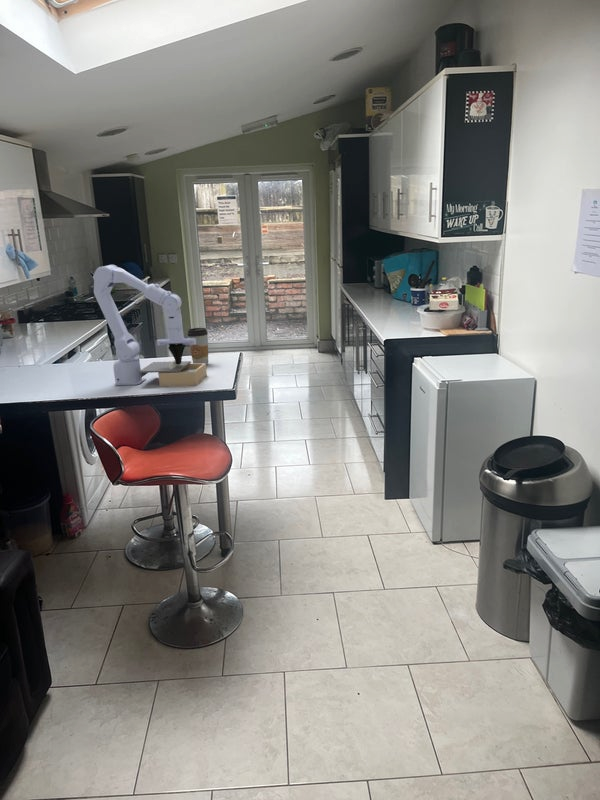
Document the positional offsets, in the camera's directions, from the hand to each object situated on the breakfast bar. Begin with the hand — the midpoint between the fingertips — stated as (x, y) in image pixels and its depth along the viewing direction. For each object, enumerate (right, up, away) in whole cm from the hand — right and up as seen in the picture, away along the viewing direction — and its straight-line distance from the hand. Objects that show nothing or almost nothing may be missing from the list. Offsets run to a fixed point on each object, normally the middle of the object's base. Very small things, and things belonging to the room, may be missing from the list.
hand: (178, 363), depth 227 cm
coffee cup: (+4, +1, +26) cm, 27 cm away
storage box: (+2, -6, +2) cm, 7 cm away
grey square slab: (-5, -3, +2) cm, 6 cm away
